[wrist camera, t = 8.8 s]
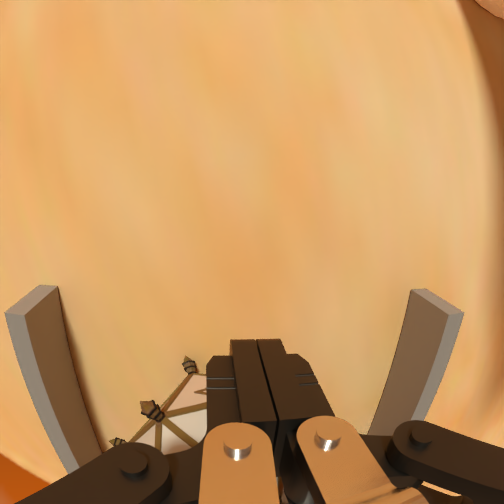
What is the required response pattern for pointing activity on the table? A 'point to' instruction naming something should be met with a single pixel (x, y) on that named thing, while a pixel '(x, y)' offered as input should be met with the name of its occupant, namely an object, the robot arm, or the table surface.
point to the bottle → (493, 6)
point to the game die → (178, 418)
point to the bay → (76, 417)
